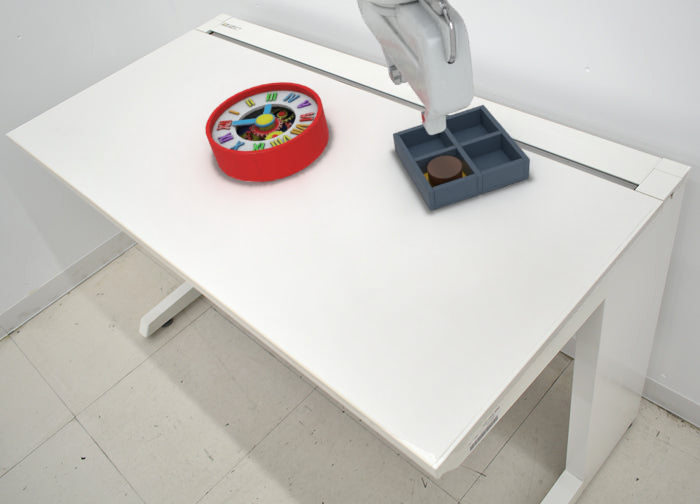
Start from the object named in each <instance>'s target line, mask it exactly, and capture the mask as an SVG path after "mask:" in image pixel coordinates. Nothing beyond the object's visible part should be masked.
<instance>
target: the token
mask: <svg viewBox="0 0 700 504" xmlns="http://www.w3.org/2000/svg"><path fill="white" fill-rule="evenodd" d="M427 171H428V181H429V184H430V186H431V187H435V186H438V185H441V184H444V183H448V182H451V181H454V180H457V179H460V178H463V175H462V163H461V161H460V160H459V159H457V158H455V157H452V156H440V157H437V158H435V159H433V160H432V161H430V163H429V164H428V166H427Z"/></svg>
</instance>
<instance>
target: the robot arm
mask: <svg viewBox="0 0 700 504" xmlns="http://www.w3.org/2000/svg"><path fill="white" fill-rule="evenodd" d="M356 2H357V7H358V9H359V10H358V11H359V12H360V15H361V18H362V20H363V22H364V24H365V26H366V27H367V28H368V30H369V31H370V32H371V34H372V35H373V37H374V38H375V39H376V41H377V42H378V44H379V45H380V47H381V50H382V54H383V56H384V59H385V62H386V65H387V72H388V77H389V79H390V80H391V81H392V83H393V84H394V85H395V86H399V85H402V84H406V83H407V84H408V86H410V88H411V90H413V92H414V93H415V95H416V96H417V98H418V99H419V101H420V102H421V103H422V105H423V106H424V110H423V111H421V112H420V113H421V120H422V121H421V125H423V126H424V128H425V129H426V131H427V132H428V134H429V135H434V134H437V133H440V132H443V131H444V130H445V129H446V117H447V115H450V114H452V113H453V114H454V113H457V112H460V111H461V110H464V109H466V108H468V107H469V106H470V105H471V104H472V102H473V100H474V97H475V94H474V93H475V91H474V90H475V89H474V87H475V86H474V75H473V74H474V73H473V63H472V54H471V53H472V52H471V45H470V43H471V42H470V39H469V33H468V29H467V25H466V23H465V20H464V19H463V17H462V16H461V14H460V12H458V11H457V9H456V8H454V6H452V4H450V2H449V0H356Z"/></svg>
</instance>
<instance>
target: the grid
mask: <svg viewBox="0 0 700 504" xmlns="http://www.w3.org/2000/svg"><path fill="white" fill-rule="evenodd" d="M392 139H393V144H394V151H395V153H396V155H397V157H398V159H399V160H400V162H401V164H402V166H403V167H404V169H405V170H406V172H407V174H408V175H409V177H410V179H411V181H412V183H414V185H415V188H416V190H417V191H418V193H419V194H420V195H421V197H422V199H423V201H424V203H425V204H426V206H427V208H428V209H429V211H431V212H432V211H433V210H437V209H440V208H444V207H447V206H450V205H452V204H455V203H458V202H461V201H464V200H468V199H471V198H473V197H477V196H479V195H483V194H485V193H488V192H492V191H494V190H495V191H496V190H497V189H500V188H504V187H506V186H507V187H508V186H509V185H513V184H515V183H518V182H522V181H524V180H527V179H529V178H530V165H531V159H530V157H529V156H528V155H527V154H526V152H524V150H523V149H522V148H521V146H520V145H519V144H518V143H517V142H516V141H515V140H514V139H513V137H512V136H511V135H510V134H509V133H508V131H507V130H505V128H504V127H503V126H502V125H501V123H500V122H499V121H498V120H497V118H495V117H494V115H493V114H492V113H491V111H490V110H489V109H488V108H487V107H486V106H485V105H484V104H481V105H478V106H475V107H472V108H469V109H466V110H463V111H458V112H455V113H453V114H449V115H446V129H445V130H444V131H443V132H440V133H437V134H434V135H429V134H428V132H427V131H426V129H425V128H424V126H423V125H422V124H419V125H415V126H412V127H409V128H406V129H403V130H400V131H398V132H394V133H392ZM440 156H452V157H455V158H457V159H459V160H460V161H461V163H462V175H463V178H460V179H457V180H454V181H451V182H448V183H444V184H441V185H438V186H435V187H431V186H430V184H429V181H428V171H427V166H428V164H429V163H430V161H432V160H433V159H435V158H437V157H440Z"/></svg>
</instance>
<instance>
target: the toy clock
mask: <svg viewBox="0 0 700 504" xmlns="http://www.w3.org/2000/svg"><path fill="white" fill-rule="evenodd" d="M204 131H205V135H206V138H207V142H208V143H209V146H210V148H211V150H212V153H213V155H214V156H213V157H214V158H215V161H216V163H217V165H218V167H219V169H220V171H222V173H224V174H225V175H226V176H228V177H229V178H232V179H233V180H238V181H241V182H248V183H266V182H272V181H273V182H274V181H277V180H281V179H285V178H287V177H290V176H293V175H295V174H298V173H299V172H301V171H303V170H304V169H307V167H310V165H312V164H313V163H314V162H315V161H317V160H318V159H319V158H320V157H321V155H322V154H323V153H324V151H325V150H326V148H327V146H328V143H329V140H330V132H329V127H328V122H327V119H326V113H325V109H324V105H323V102H322V99H321V97H320V95H319V94H318V93H317V91H315V90H314V89H313V88H312V87H309V86H307V85H303V84H302V83H301V84H300V83H296V82H287V81H279V82H269V83H262V84H259V85H255V86H252V87H249V88H246V89H243V90H240V91H239V92H236V93H235V94H233V95H231V96H230V97H228V98H226V99H225V100H224V101H222V102H220V104H218V105H217V106H216V107H215V108H214V109H213V111H212V112H211V113H210V115H209V117H208V118H207V120H206V123H205V130H204Z"/></svg>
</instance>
